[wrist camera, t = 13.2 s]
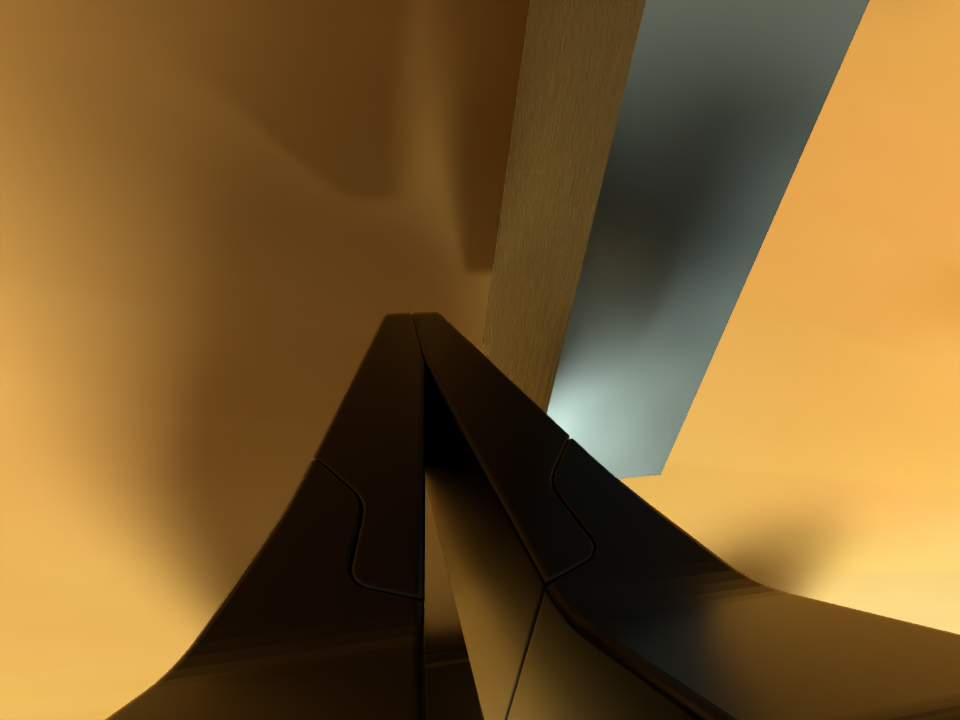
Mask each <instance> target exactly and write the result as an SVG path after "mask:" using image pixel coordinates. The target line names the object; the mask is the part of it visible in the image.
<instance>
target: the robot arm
mask: <svg viewBox="0 0 960 720" xmlns="http://www.w3.org/2000/svg"><path fill="white" fill-rule="evenodd" d="M425 482H426V486H427V490H428V494H429V498H430V502H431V506H432V511H433V515H434V519H435V523H436V527H437V531H438V535H439V539H440V543H441V547H442V551H443V555H444V559H445V563H446V567H447V571H448V575H449V579H450V583H451V587H452V591H453V595H454V599H455V603H456V608H457V612H458V616H459V620H460V624H461V628H462V632H463V636H464V640H465V644H466V648H467V649H462V650H455V651H448V652H441V653H434V654H427V655H425V637H424V599H425ZM106 720H960V635H959V634H955V633H951V632H946V631H942V630H938V629H934V628H930V627H926V626H922V625H918V624H913V623H909V622H905V621H901V620H897V619H893V618H889V617H885V616H880V615H876V614H872V613H868V612H864V611H860V610H856V609H852V608H847V607H843V606H839V605H835V604H831V603H827V602H823V601H819V600H814V599H810V598H806V597H802V596H798V595H794V594H790V593H786V592H783V591H779V590H777V589H774V588H771V587H769V586H766V585H764V584H762V583H760V582H758V581H756V580H754V579H752V578H750V577H748V576H746V575H745V574H743V573H741V572H740V571H738V570H736V569H735V568H734V567H732V566H731V565H729V564H728V563H726V562H725V561H724V560H722V559H721V558H720V557H718V556H717V555H716V554H714V553H713V552H712V551H710V550H709V549H708V548H706V547H705V546H704V545H703V544H701V543H700V542H699V541H697V540H696V539H695V538H693V537H692V536H691V535H689V534H688V533H687V532H685V531H684V530H683V529H681V528H680V527H679V526H678V525H676V524H675V523H674V522H672V521H671V520H670V519H668V518H667V517H666V516H664V515H663V514H662V513H660V512H659V511H658V510H657V509H655V508H654V507H653V506H651V505H650V504H649V503H647V502H646V501H645V500H644V499H642V498H641V497H640V496H639V495H637V494H636V493H635V492H634V491H632V490H631V489H630V488H629V487H627V486H626V485H625V484H624V483H622V482H621V481H620V480H619V479H617V478H616V477H615V476H614V475H613V474H612V473H610V472H609V471H608V470H607V469H606V468H605V467H604V466H603V465H601V464H600V463H599V462H598V461H597V460H596V459H595V458H594V457H592V456H591V455H590V454H589V453H588V452H587V451H586V450H585V449H584V448H583V447H582V446H581V445H579V444H578V443H577V442H576V441H575V440H574V439H570V436H569V434H567V433H566V432H565V431H564V430H563V429H562V428H561V427H560V426H559V425H558V424H557V423H556V422H555V421H554V420H553V419H552V418H550V417H549V416H548V415H547V414H546V413H545V412H544V411H543V410H542V409H541V408H540V407H539V406H538V405H537V404H536V403H534V402H533V401H532V400H531V399H530V398H529V397H528V396H527V395H526V394H525V393H524V392H523V391H522V390H521V389H520V388H519V387H517V386H516V385H515V384H514V383H513V382H512V381H511V380H510V379H509V378H508V377H507V376H506V375H505V374H504V373H503V372H501V371H500V370H499V369H498V368H497V367H496V366H495V365H494V364H493V363H492V362H491V361H490V360H489V359H488V358H487V357H486V356H484V355H483V354H482V353H481V352H480V351H479V350H478V349H477V348H476V347H475V346H474V345H473V344H472V343H471V342H470V341H469V340H467V339H466V338H465V337H464V336H463V335H462V334H461V333H460V332H459V331H458V330H457V329H456V328H455V327H454V326H453V325H451V324H450V323H449V322H448V321H447V320H446V319H445V318H444V317H443V316H442V315H441V314H439V313H437V312H425V313H414V314H410V313H397V314H386V315H385V316H384V317H383V319H382V321H381V323H380V325H379V327H378V329H377V331H376V333H375V335H374V337H373V339H372V341H371V343H370V345H369V347H368V349H367V351H366V353H365V355H364V357H363V359H362V361H361V363H360V365H359V367H358V369H357V371H356V373H355V375H354V377H353V379H352V381H351V383H350V385H349V387H348V389H347V391H346V393H345V395H344V397H343V399H342V401H341V403H340V405H339V407H338V409H337V411H336V413H335V415H334V417H333V419H332V421H331V423H330V425H329V427H328V429H327V431H326V433H325V435H324V437H323V439H322V441H321V443H320V445H319V447H318V449H317V451H316V453H315V455H314V457H313V460H312V461H311V462H310V464H309V466H308V468H307V470H306V472H305V474H304V476H303V478H302V480H301V482H300V484H299V485H298V487H297V489H296V491H295V493H294V494H293V496H292V498H291V500H290V502H289V503H288V505H287V507H286V509H285V511H284V512H283V514H282V515H281V517H280V518H279V520H278V521H277V523H276V524H275V526H274V528H273V529H272V531H271V532H270V534H269V535H268V537H267V538H266V540H265V541H264V543H263V544H262V546H261V547H260V549H259V550H258V552H257V553H256V554H255V556H254V557H253V559H252V560H251V562H250V563H249V564H248V566H247V567H246V569H245V570H244V572H243V573H242V574H241V576H240V577H239V579H238V580H237V582H236V583H235V584H234V586H233V587H232V589H231V590H230V592H229V593H228V594H227V596H226V597H225V599H224V600H223V602H222V603H221V604H220V606H219V607H218V609H217V610H216V612H215V613H214V614H213V616H212V617H211V619H210V620H209V622H208V623H207V624H206V626H205V627H204V629H203V630H202V631H201V633H200V634H199V636H198V637H197V638H196V640H195V641H194V642H193V644H192V645H191V646H190V648H189V649H188V650H187V651H186V652H185V654H184V655H183V656H182V657H181V658H180V660H179V661H178V662H177V663H176V664H175V665H174V666H173V667H172V668H171V669H170V670H169V671H168V672H167V673H166V674H165V675H164V676H163V677H162V678H160V679H159V680H158V681H157V682H156V683H155V684H154V685H153V686H151V687H150V688H149V689H147V690H146V691H145V692H143V693H142V694H140V695H139V696H138V697H136V698H135V699H133V700H132V701H131V702H129V703H128V704H126V705H125V706H124V707H122V708H121V709H120V710H118V711H117V712H115V713H114V714H113V715H111V716H110V717H108V718H107V719H106Z"/></svg>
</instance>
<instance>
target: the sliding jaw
mask: <svg viewBox="0 0 960 720" xmlns="http://www.w3.org/2000/svg"><path fill="white" fill-rule="evenodd" d="M868 3H869V0H529V7H528V14H527V22H526V29H525V37H524V44H523V51H522V59H521V66H520V73H519V81H518V88H517V95H516V103H515V110H514V117H513V125H512V132H511V139H510V147H509V154H508V161H507V169H506V176H505V184H504V191H503V198H502V206H501V213H500V220H499V228H498V235H497V242H496V250H495V257H494V264H493V272H492V279H491V286H490V294H489V301H488V308H487V316H486V323H485V331H484V338H483V342H484V345H485V349H486V352H487V355H488V358H489V360H490V361H491V362H492V363H493V364H494V365H495V366H496V367H497V368H498V369H499V370H500V371H501V372H503V373H504V374H505V375H506V376H507V377H508V378H509V379H510V380H511V381H512V382H513V383H514V384H515V385H516V386H517V387H519V388H520V389H521V390H522V391H523V392H524V393H525V394H526V395H527V396H528V397H529V398H530V399H531V400H532V401H533V402H534V403H536V404H537V405H538V406H539V407H540V408H541V409H542V410H543V411H544V412H545V413H546V414H547V415H548V416H549V417H550V418H552V419H553V420H554V421H555V422H556V423H557V424H558V425H559V426H560V427H561V428H562V429H563V430H564V431H565V432H566V433H567V434H569V436H570V439H574V440H575V441H576V442H577V443H578V444H579V445H581V446H582V447H583V448H584V449H585V450H586V451H587V452H588V453H589V454H590V455H591V456H592V457H594V458H595V459H596V460H597V461H598V462H599V463H600V464H601V465H603V466H604V467H605V468H606V469H607V470H608V471H609V472H610V473H612V474H613V475H614V476H615V477H616V478H617V479H620V478H631V477H642V476H653V475H661V472H662V470H663V468H664V466H665V463H666V461H667V459H668V456H669V454H670V452H671V450H672V447H673V445H674V443H675V441H676V438H677V436H678V434H679V432H680V429H681V427H682V425H683V422H684V420H685V418H686V416H687V413H688V411H689V409H690V407H691V404H692V402H693V400H694V397H695V395H696V393H697V391H698V388H699V386H700V384H701V382H702V379H703V377H704V375H705V373H706V370H707V368H708V366H709V363H710V361H711V359H712V357H713V354H714V352H715V350H716V348H717V345H718V343H719V341H720V338H721V336H722V334H723V332H724V329H725V327H726V325H727V323H728V320H729V318H730V316H731V314H732V311H733V309H734V307H735V304H736V302H737V300H738V298H739V295H740V293H741V291H742V289H743V286H744V284H745V282H746V279H747V277H748V275H749V273H750V270H751V268H752V266H753V264H754V261H755V259H756V257H757V255H758V252H759V250H760V248H761V245H762V243H763V241H764V239H765V236H766V234H767V232H768V230H769V227H770V225H771V223H772V220H773V218H774V216H775V214H776V211H777V209H778V207H779V205H780V202H781V200H782V198H783V196H784V193H785V191H786V189H787V186H788V184H789V182H790V180H791V177H792V175H793V173H794V171H795V168H796V166H797V164H798V161H799V159H800V157H801V155H802V152H803V150H804V148H805V146H806V143H807V141H808V139H809V136H810V134H811V132H812V130H813V127H814V125H815V123H816V121H817V118H818V116H819V114H820V112H821V109H822V107H823V105H824V102H825V100H826V98H827V96H828V93H829V91H830V89H831V87H832V84H833V82H834V80H835V77H836V75H837V73H838V71H839V68H840V66H841V64H842V62H843V59H844V57H845V55H846V53H847V50H848V48H849V46H850V43H851V41H852V39H853V37H854V34H855V32H856V30H857V28H858V25H859V23H860V21H861V18H862V16H863V14H864V12H865V9H866V7H867V5H868Z"/></svg>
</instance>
